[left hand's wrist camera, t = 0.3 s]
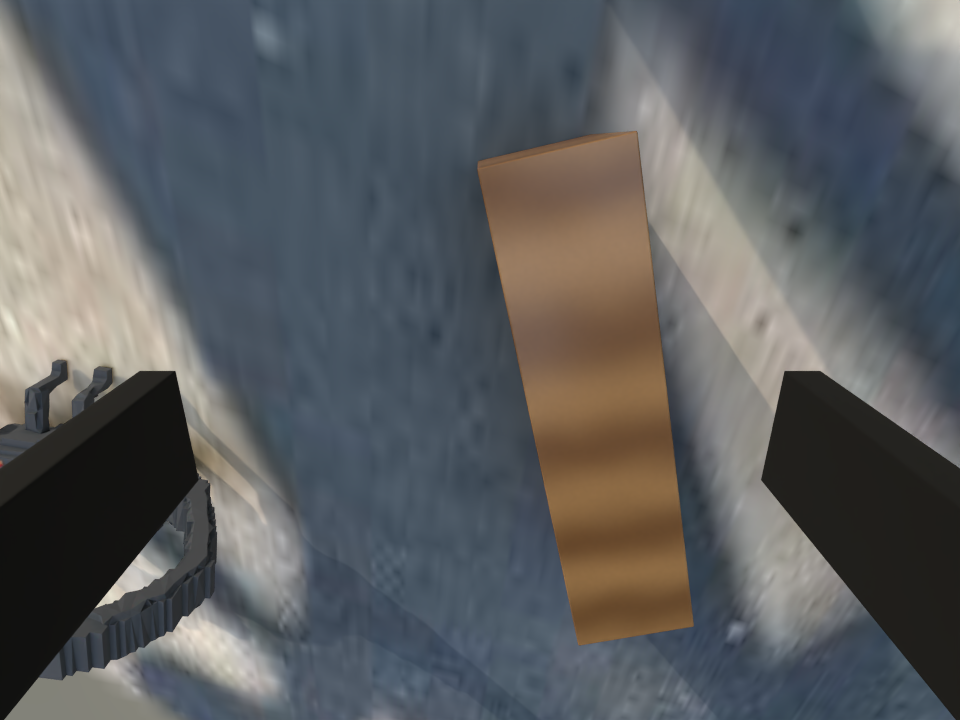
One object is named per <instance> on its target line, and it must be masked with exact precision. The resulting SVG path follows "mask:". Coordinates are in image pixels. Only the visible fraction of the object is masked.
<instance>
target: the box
mask: <svg viewBox="0 0 960 720" xmlns="http://www.w3.org/2000/svg"><path fill="white" fill-rule="evenodd" d="M477 170H478V175H479V180H480V185H481V189H482V194H483V199H484V203H485V208H486V213H487V218H488V222H489V227H490V232H491V236H492V241H493V246H494V250H495V255H496V260H497V265H498V269H499V274H500V279H501V283H502V288H503V293H504V298H505V302H506V307H507V312H508V316H509V321H510V326H511V330H512V335H513V340H514V345H515V349H516V354H517V359H518V363H519V368H520V373H521V378H522V382H523V387H524V392H525V396H526V401H527V406H528V410H529V415H530V420H531V425H532V429H533V434H534V439H535V443H536V448H537V453H538V458H539V462H540V467H541V472H542V476H543V481H544V486H545V490H546V495H547V500H548V505H549V509H550V514H551V519H552V523H553V528H554V533H555V538H556V542H557V547H558V552H559V556H560V561H561V566H562V570H563V575H564V580H565V585H566V589H567V594H568V599H569V603H570V608H571V613H572V618H573V622H574V627H575V632H576V636H577V641H578V645H585V644H591V643H597V642H603V641H609V640H615V639H621V638H627V637H633V636H639V635H645V634H651V633H657V632H663V631H670V630H676V629H682V628H688V627H693V626H694V623H693V614H692V605H691V597H690V588H689V579H688V570H687V562H686V553H685V544H684V536H683V527H682V518H681V509H680V501H679V492H678V483H677V474H676V466H675V457H674V448H673V439H672V431H671V422H670V413H669V404H668V396H667V387H666V378H665V369H664V361H663V352H662V343H661V334H660V326H659V317H658V308H657V299H656V291H655V282H654V273H653V265H652V256H651V247H650V238H649V230H648V221H647V212H646V203H645V195H644V186H643V177H642V168H641V160H640V151H639V142H638V133H637V131H630V132H617V133H604V134H591V135H587V136H583V137H578V138H574V139H570V140H566V141H561V142H557V143H553V144H549V145H544V146H540V147H536V148H532V149H527V150H523V151H519V152H515V153H511V154H506V155H502V156H498V157H494V158H489V159H485V160H481V161H478V169H477Z"/></svg>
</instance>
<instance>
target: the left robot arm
mask: <svg viewBox="0 0 960 720" xmlns="http://www.w3.org/2000/svg"><path fill="white" fill-rule="evenodd" d="M198 480H199V479H198V474H197V469H196V465H195V460H194V455H193V451H192V446H191V441H190V437H189V432H188V427H187V423H186V418H185V414H184V409H183V404H182V400H181V395H180V390H179V386H178V381H177V376H176V372H175V371H139V372H138V373H136V374H135V375H134V376H132V377H131V378H129V379H128V380H126V381H125V382H123V383H122V384H121V385H119V386H118V387H116V388H115V389H113V390H112V391H111V392H109V393H108V394H106V395H105V396H103V397H102V398H101V399H99V400H98V401H96V402H95V403H93V404H92V405H90V406H89V407H88V408H86V409H85V410H83V411H82V412H80V413H79V414H78V415H76V416H75V417H73V418H72V419H70V420H69V421H68V422H66V423H65V424H63V425H62V426H60V427H59V428H58V429H56V430H55V431H53V432H52V433H50V434H49V435H47V436H46V437H45V438H43V439H42V440H40V441H39V442H37V443H36V444H35V445H33V446H32V447H30V448H29V449H27V450H26V451H25V452H23V453H22V454H20V455H19V456H17V457H16V458H14V459H13V460H12V461H10V462H9V463H7V464H6V465H4V466H3V467H2V468H0V720H4V719H5V718H6V717H7V715H8V714H9V713H10V712H11V711H12V709H13V708H14V707H15V706H16V704H17V703H18V702H19V701H20V699H21V698H22V697H23V696H24V695H25V693H26V692H27V691H28V690H29V688H30V687H31V686H32V685H33V683H34V682H35V681H36V680H37V679H38V677H39V676H40V675H41V674H42V672H43V671H44V670H45V669H46V667H47V666H48V665H49V664H50V663H51V661H52V660H53V659H54V658H55V656H56V655H57V654H58V653H59V651H60V650H61V649H62V648H63V647H64V645H65V644H66V643H67V642H68V640H69V639H70V638H71V637H72V635H73V634H74V633H75V632H76V631H77V629H78V628H79V627H80V626H81V624H82V623H83V622H84V621H85V619H86V618H87V617H88V616H89V615H90V613H91V612H92V611H93V610H94V608H95V607H96V606H97V605H98V603H99V602H100V601H101V600H102V599H103V597H104V596H105V595H106V594H107V592H108V591H109V590H110V589H111V587H112V586H113V585H114V584H115V583H116V581H117V580H118V579H119V578H120V576H121V575H122V574H123V573H124V571H125V570H126V569H127V568H128V567H129V565H130V564H131V563H132V562H133V560H134V559H135V558H136V557H137V555H138V554H139V553H140V552H141V551H142V549H143V548H144V547H145V546H146V544H147V543H148V542H149V541H150V539H151V538H152V537H153V536H154V535H155V533H156V532H157V531H158V530H159V528H160V527H161V526H162V525H163V523H164V522H165V521H166V520H167V519H168V517H169V516H170V515H171V514H172V512H173V511H174V510H175V509H176V507H177V506H178V505H179V504H180V503H181V501H182V500H183V499H184V498H185V496H186V495H187V494H188V493H189V491H190V490H191V489H192V488H193V487H194V485H195V484H196V483H197V482H198ZM761 480H762V482H763V483H764V484H765V485H766V487H767V488H768V489H769V490H770V491H771V493H772V494H773V495H774V496H775V498H776V499H777V500H778V501H779V503H780V504H781V505H782V506H783V507H784V509H785V510H786V511H787V512H788V514H789V515H790V516H791V517H792V519H793V520H794V521H795V522H796V523H797V525H798V526H799V527H800V528H801V530H802V531H803V532H804V533H805V535H806V536H807V537H808V538H809V539H810V541H811V542H812V543H813V544H814V546H815V547H816V548H817V549H818V551H819V552H820V553H821V554H822V555H823V557H824V558H825V559H826V560H827V562H828V563H829V564H830V565H831V567H832V568H833V569H834V570H835V571H836V573H837V574H838V575H839V576H840V578H841V579H842V580H843V581H844V583H845V584H846V585H847V586H848V587H849V589H850V590H851V591H852V592H853V594H854V595H855V596H856V597H857V599H858V600H859V601H860V602H861V603H862V605H863V606H864V607H865V608H866V610H867V611H868V612H869V613H870V615H871V616H872V617H873V618H874V619H875V621H876V622H877V623H878V624H879V626H880V627H881V628H882V629H883V631H884V632H885V633H886V634H887V635H888V637H889V638H890V639H891V640H892V642H893V643H894V644H895V645H896V647H897V648H898V649H899V650H900V651H901V653H902V654H903V655H904V656H905V658H906V659H907V660H908V661H909V663H910V664H911V665H912V666H913V667H914V669H915V670H916V671H917V672H918V674H919V675H920V676H921V677H922V679H923V680H924V681H925V682H926V683H927V685H928V686H929V687H930V688H931V690H932V691H933V692H934V693H935V695H936V696H937V697H938V698H939V699H940V701H941V702H942V703H943V704H944V706H945V707H946V708H947V709H948V711H949V712H950V713H951V714H952V715H953V717H954V718H955V719H956V720H960V468H958V467H957V466H956V465H954V464H953V463H951V462H950V461H948V460H947V459H946V458H944V457H943V456H941V455H940V454H938V453H937V452H935V451H934V450H933V449H931V448H930V447H928V446H927V445H925V444H924V443H923V442H921V441H920V440H918V439H917V438H915V437H914V436H913V435H911V434H910V433H908V432H907V431H905V430H904V429H902V428H901V427H900V426H898V425H897V424H895V423H894V422H892V421H891V420H890V419H888V418H887V417H885V416H884V415H882V414H881V413H880V412H878V411H877V410H875V409H874V408H872V407H871V406H870V405H868V404H867V403H865V402H864V401H862V400H861V399H859V398H858V397H857V396H855V395H854V394H852V393H851V392H849V391H848V390H847V389H845V388H844V387H842V386H841V385H839V384H838V383H837V382H835V381H834V380H832V379H831V378H829V377H828V376H826V375H825V374H824V373H822V372H821V371H785V372H784V376H783V381H782V386H781V390H780V395H779V400H778V404H777V409H776V414H775V418H774V423H773V427H772V432H771V437H770V441H769V446H768V451H767V455H766V460H765V465H764V469H763V474H762V479H761Z"/></svg>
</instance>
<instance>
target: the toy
mask: <svg viewBox="0 0 960 720" xmlns="http://www.w3.org/2000/svg"><path fill="white" fill-rule="evenodd" d="M67 379H68V376H67V364H66V361H63V360H56V361H54V362H52V372H51V375H50V376H48V377H47V378H45V379H43V380H41V381H40V382H38V383H36V384H34V385H33V386H31V387H29V388H28V389H26V390H25V424H23V425H20V424H9V425H6V426H5V427H3V428H1V429H0V468H2V467H3V466H4V465H6V464H7V463H9V462H10V461H12V460H13V459H14V458H16V457H17V456H19V455H20V454H22V453H23V452H25V451H26V450H27V449H29V448H30V447H32V446H33V445H35V444H36V443H37V442H39V441H40V440H42V439H43V438H45V437H46V436H47V435H49V434H50V433H52V432H53V431H55V430H56V429H58V428H59V427H60V426H62V425H63V424H59V425H58V426H56V427H49V420H48V417H49V394H50V393H51V392H52V391H53V389H54V388H55V387H56V386H58V385H59V384H61V383H63V382H64V381H66V380H67ZM111 384H112V368H106V367H100V366H99V367H97V368H96V369H94V374H93V381H92V383H91V384H90V385H89V387H88V388H86V389H85V390H83V391H82V392H80V393H79V394H78V395H77V396H76V397H75V398H74V399H73V400H72V415H73V417H75V416H76V415H78V414H79V413H80V412H82V411H83V410H85V409H86V408H88V407H89V406H90V405H92V404H93V403H94V398H95V397H97V396H98V394H99V393H101V392H102V391H104V390H106V389H107V388H108V387H109V386H110V385H111ZM197 474H198V473H197ZM198 479H199V480H198V482H197V483H196V484H195V485H194V487H193V488H192V489H191V490H190V491H189V493H188V494H187V495H186V496H185V498H184V499H183V500H182V501H181V503H180V504H179V505H178V506H177V507H176V509H175V510H174V511H173V512H172V514H171V515H170V516H169V517H168V519H167V520H166V521H169V522H170V524H171V525H174V528H176V531H184V532H185V534H184V543H183V544H184V557H183V558H182V560H181V561H180V563H179V564H178V565H177V567H176V568H175V569H169V570H168V571H167V573H166V574H165V575H164V576H163V577H162V578H160V579H155V580H154V581H153V582H152V583H151V584H150V585H149V586H148V587H144V588H143V589H141V590H138V591H133V592H128V593H125V594H124V595H123V596H122V598H121V599H120V600H119V601H114V602H113V603H112V604H105V605H103V606H100V607H98V608H95V609H94V610H93V611H92V612H91V613H90V615H89V616H88V617H87V618H86V619H85V621H84V622H83V623H82V624H81V626H80V627H79V628H78V629H77V631H76V632H75V633H74V634H73V635H72V637H71V638H70V639H69V640H68V642H67V643H66V644H65V645H64V647H63V648H62V649H61V650H60V651H59V653H58V654H57V655H56V656H55V658H54V659H53V660H52V661H51V663H50V664H49V665H48V666H47V667H46V669H45V670H44V671H43V672H42V674H41V675H40V676H39V677H40V678H48V679H55V680H63V679H64V678H65V676H66V675H69V676H73V675H74V673H75V672H76V671H82V672H89V671H90V670H91V668H92V667H94V668H102V669H105V667H106V666H107V664H108V663H109V662H110V660H118V659H120V658H122V657H124V656H127V655H128V654H129V653H132V652H136V650H137V649H138V647H142V648H144V647H145V646H147V645H148V644H149V643H150V642H151V641H153V640H156V639H157V638H158V637H161V636H164V635H165V633H166V632H173V630H174V629H175V627H176V626H177V624H178V622H179V621H180V619H181V618H182V616H189V615H190V614H191V612H192V611H193V610H194V609H195V608H197V607H198V606H200V605H201V603H202V602H203V600H204V599H205V598H211V596H212V594H213V592H214V581H215V564H216V555H217V532H216V519H215V513H214V507H212V504H211V497H210V483H208V480H202V479H201V477H199V474H198ZM162 526H163V525H162ZM162 526H161V527H162ZM161 527H160V528H161ZM160 528H159V529H160Z"/></svg>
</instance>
